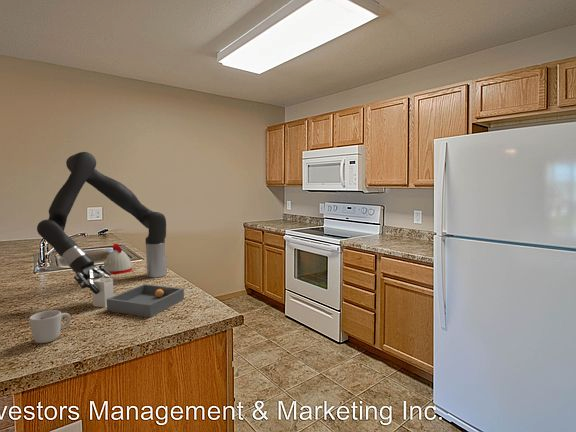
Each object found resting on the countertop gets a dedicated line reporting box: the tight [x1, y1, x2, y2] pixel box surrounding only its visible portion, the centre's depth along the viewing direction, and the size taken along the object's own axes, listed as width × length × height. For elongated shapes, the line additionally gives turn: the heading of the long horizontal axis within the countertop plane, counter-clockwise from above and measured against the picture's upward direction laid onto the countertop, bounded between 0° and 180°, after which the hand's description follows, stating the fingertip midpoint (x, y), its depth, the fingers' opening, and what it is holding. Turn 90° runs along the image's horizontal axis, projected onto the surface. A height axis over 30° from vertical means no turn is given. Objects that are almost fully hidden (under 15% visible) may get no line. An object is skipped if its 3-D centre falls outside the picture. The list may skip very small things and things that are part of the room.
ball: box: [155, 289, 164, 297], centre depth 140 cm, size 3×3×3 cm
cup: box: [28, 309, 72, 344], centre depth 106 cm, size 11×8×8 cm
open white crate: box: [91, 277, 115, 308], centre depth 135 cm, size 5×5×10 cm
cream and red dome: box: [103, 243, 133, 275], centre depth 185 cm, size 14×14×15 cm
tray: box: [106, 283, 185, 318], centre depth 134 cm, size 20×20×4 cm
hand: (105, 289), depth 134 cm, fingers open, 8 cm apart
